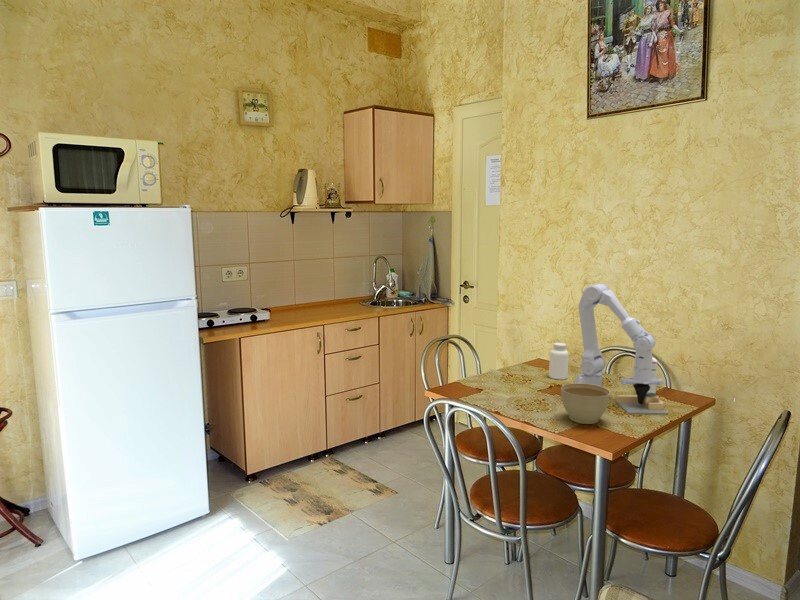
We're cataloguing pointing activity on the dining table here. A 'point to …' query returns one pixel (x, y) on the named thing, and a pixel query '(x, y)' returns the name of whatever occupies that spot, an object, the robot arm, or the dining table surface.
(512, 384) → the dining table surface
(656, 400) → the cabinet block
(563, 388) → the planter bowl
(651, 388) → the syrup box
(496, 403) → the dining table surface
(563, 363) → the pill bottle
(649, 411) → the wall board
